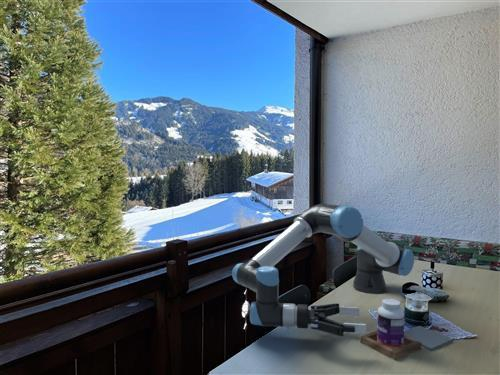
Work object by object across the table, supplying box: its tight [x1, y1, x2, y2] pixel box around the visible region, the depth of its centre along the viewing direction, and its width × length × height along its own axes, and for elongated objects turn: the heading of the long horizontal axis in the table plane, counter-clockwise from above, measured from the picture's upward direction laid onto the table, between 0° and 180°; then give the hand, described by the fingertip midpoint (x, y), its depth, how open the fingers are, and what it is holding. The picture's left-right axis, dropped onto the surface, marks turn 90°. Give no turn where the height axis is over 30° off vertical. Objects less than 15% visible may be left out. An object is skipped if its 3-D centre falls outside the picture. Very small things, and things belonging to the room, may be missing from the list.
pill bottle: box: [376, 298, 405, 350], centre depth 114 cm, size 8×8×14 cm
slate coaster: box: [404, 325, 454, 352], centre depth 119 cm, size 12×12×1 cm
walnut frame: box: [359, 330, 422, 361], centre depth 115 cm, size 13×13×2 cm
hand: (362, 319), depth 115 cm, fingers open, 13 cm apart
